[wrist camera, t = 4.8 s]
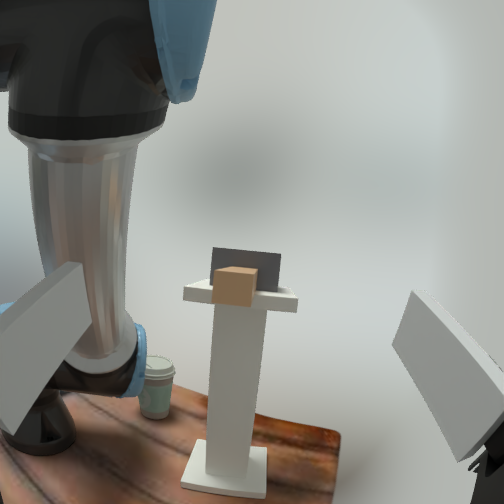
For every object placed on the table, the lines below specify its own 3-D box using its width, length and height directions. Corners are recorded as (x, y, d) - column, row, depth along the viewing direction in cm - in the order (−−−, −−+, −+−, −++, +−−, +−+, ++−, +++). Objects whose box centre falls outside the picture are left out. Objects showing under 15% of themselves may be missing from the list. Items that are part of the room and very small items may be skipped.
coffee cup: (135, 401, 52) (133, 352, 53) (173, 403, 55) (174, 355, 55) (133, 421, 44) (130, 368, 45) (177, 424, 47) (177, 371, 47)
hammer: (283, 310, 21) (290, 250, 21) (179, 298, 22) (185, 240, 22) (275, 286, 40) (278, 254, 40) (218, 280, 41) (221, 249, 41)
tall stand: (264, 498, 29) (298, 298, 29) (180, 487, 29) (183, 286, 30) (265, 453, 41) (288, 287, 41) (197, 444, 41) (206, 278, 42)
